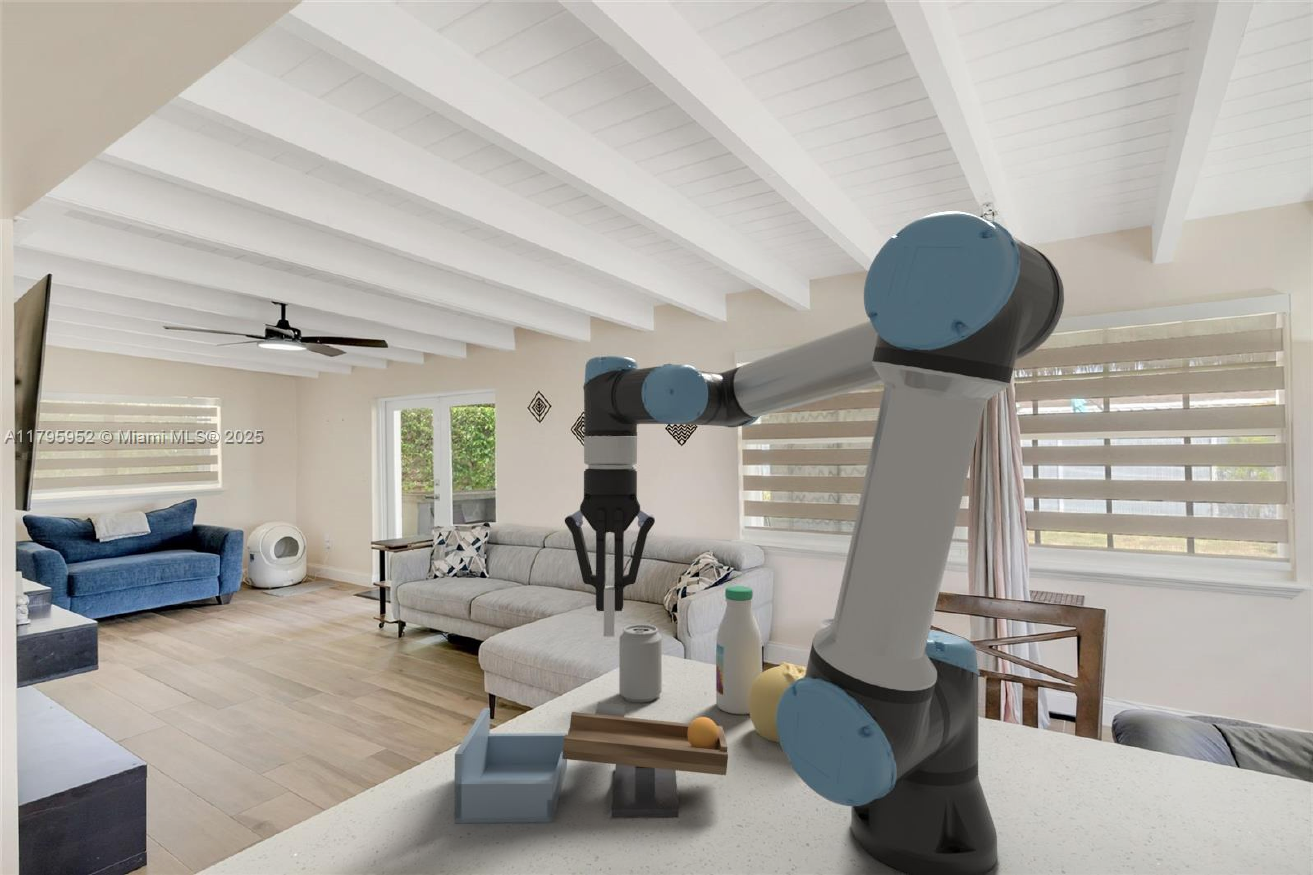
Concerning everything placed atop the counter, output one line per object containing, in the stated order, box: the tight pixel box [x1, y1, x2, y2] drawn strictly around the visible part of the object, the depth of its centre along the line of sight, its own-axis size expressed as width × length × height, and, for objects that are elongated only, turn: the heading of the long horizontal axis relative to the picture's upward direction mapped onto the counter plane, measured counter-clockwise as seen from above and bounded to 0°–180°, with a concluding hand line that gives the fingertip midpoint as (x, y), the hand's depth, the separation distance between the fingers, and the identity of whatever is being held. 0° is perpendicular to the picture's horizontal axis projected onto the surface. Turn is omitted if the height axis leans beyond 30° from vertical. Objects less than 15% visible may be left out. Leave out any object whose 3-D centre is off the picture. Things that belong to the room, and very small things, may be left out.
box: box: [453, 707, 568, 824], centre depth 84 cm, size 14×11×8 cm
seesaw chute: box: [562, 701, 729, 776], centre depth 88 cm, size 16×20×3 cm
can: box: [618, 623, 663, 703], centre depth 116 cm, size 8×8×12 cm
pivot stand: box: [610, 764, 680, 819], centre depth 84 cm, size 12×8×4 cm, turn 1°
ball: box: [687, 716, 719, 749], centre depth 84 cm, size 4×4×4 cm
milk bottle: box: [715, 585, 763, 715], centre depth 112 cm, size 8×8×20 cm
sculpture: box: [749, 661, 807, 743], centre depth 100 cm, size 11×12×11 cm
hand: (609, 633), depth 93 cm, fingers closed
